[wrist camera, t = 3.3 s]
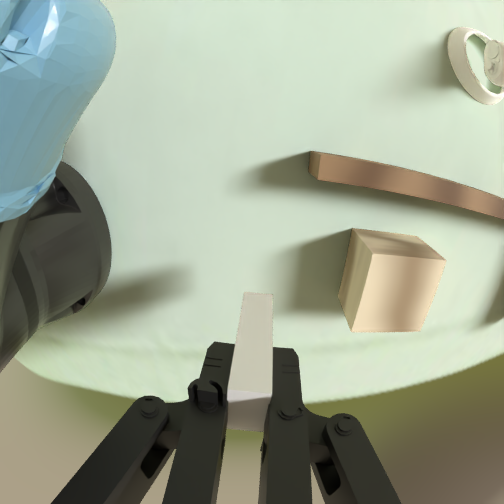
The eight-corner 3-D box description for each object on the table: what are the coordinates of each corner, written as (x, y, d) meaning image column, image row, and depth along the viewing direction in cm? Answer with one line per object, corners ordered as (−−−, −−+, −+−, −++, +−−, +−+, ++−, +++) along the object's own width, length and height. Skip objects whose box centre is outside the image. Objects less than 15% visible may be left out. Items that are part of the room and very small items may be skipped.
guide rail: (288, 305, 23) (292, 344, 19) (310, 150, 18) (324, 155, 14) (519, 309, 23) (539, 330, 18) (550, 218, 18) (576, 233, 13)
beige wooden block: (337, 295, 23) (351, 332, 18) (351, 227, 21) (372, 253, 16) (398, 297, 23) (419, 331, 18) (416, 235, 20) (446, 260, 16)
